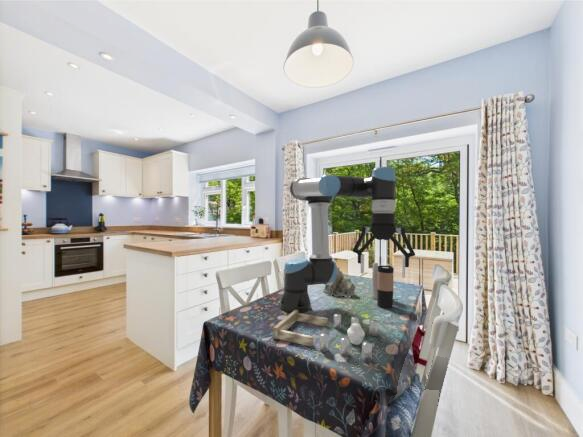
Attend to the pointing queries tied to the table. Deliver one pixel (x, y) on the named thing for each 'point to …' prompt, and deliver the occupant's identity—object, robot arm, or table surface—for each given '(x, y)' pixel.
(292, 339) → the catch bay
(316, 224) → the robot arm
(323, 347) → the spacer field
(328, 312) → the table surface
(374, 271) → the candle
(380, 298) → the travel mug
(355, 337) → the grey faceted vase
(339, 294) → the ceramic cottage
